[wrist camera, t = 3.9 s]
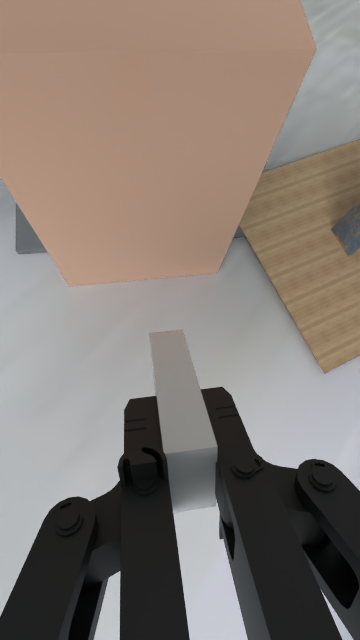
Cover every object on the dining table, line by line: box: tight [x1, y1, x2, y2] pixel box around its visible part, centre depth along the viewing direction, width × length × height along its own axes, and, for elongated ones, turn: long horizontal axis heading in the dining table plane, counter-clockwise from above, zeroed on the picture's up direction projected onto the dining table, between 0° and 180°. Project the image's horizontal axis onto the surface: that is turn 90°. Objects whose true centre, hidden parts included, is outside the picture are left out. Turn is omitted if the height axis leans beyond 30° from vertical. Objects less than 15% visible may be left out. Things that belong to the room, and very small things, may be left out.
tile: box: [0, 0, 316, 287], centre depth 17 cm, size 11×2×16 cm, turn 97°
